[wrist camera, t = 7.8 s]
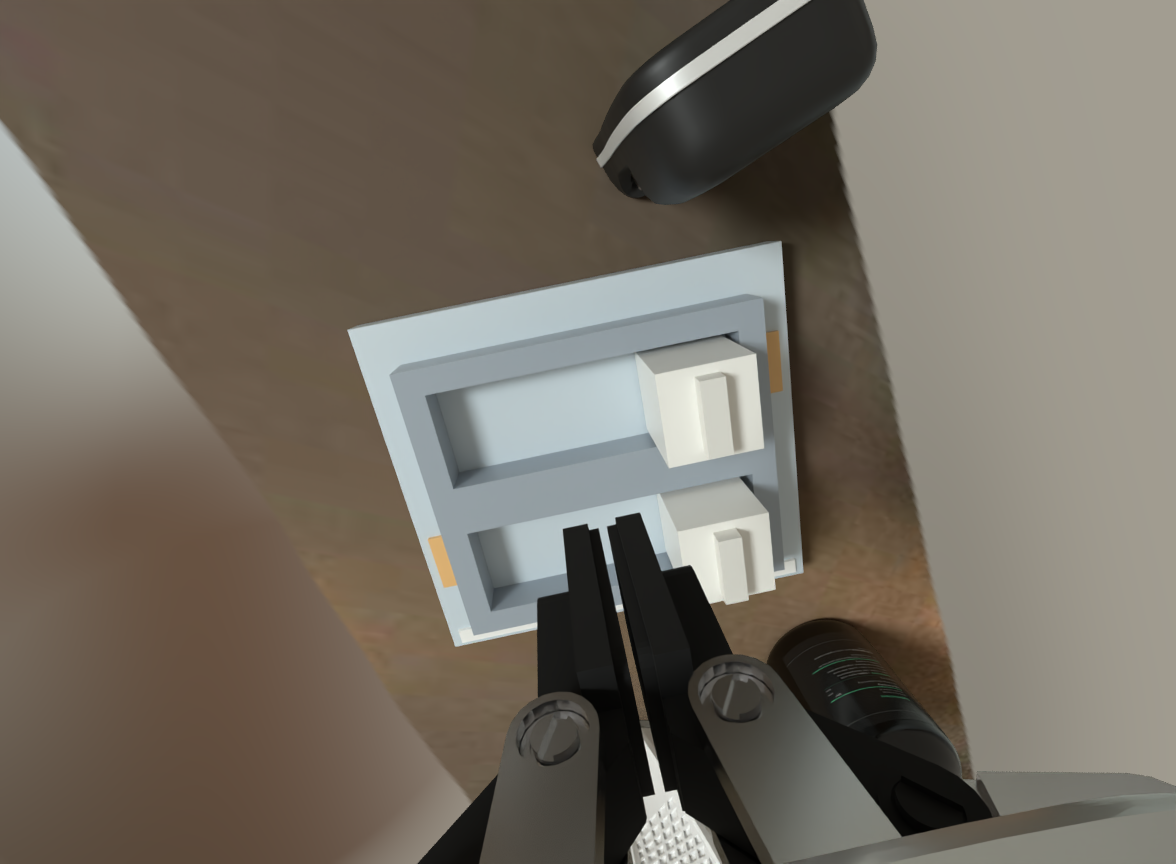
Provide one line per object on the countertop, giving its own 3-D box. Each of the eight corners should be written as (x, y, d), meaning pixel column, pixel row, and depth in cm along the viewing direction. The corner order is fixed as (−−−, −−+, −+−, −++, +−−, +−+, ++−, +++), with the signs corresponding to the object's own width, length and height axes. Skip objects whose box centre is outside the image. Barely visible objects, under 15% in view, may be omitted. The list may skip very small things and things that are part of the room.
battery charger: (628, 225, 26) (691, 214, 15) (584, 148, 24) (618, 75, 14) (759, 137, 25) (926, 59, 14) (721, 53, 24) (872, -104, 13)
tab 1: (633, 350, 26) (658, 379, 20) (716, 333, 26) (764, 357, 20) (646, 428, 27) (673, 476, 22) (725, 412, 27) (772, 455, 22)
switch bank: (357, 325, 26) (331, 337, 23) (768, 241, 26) (801, 241, 23) (459, 629, 32) (449, 673, 29) (791, 558, 32) (820, 593, 29)
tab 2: (654, 483, 28) (682, 541, 23) (730, 467, 28) (776, 521, 23) (665, 549, 30) (693, 619, 24) (738, 534, 30) (782, 600, 24)
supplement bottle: (851, 702, 37) (990, 909, 25) (753, 701, 36) (850, 912, 25) (878, 617, 34) (1043, 801, 23) (774, 613, 34) (892, 802, 22)
